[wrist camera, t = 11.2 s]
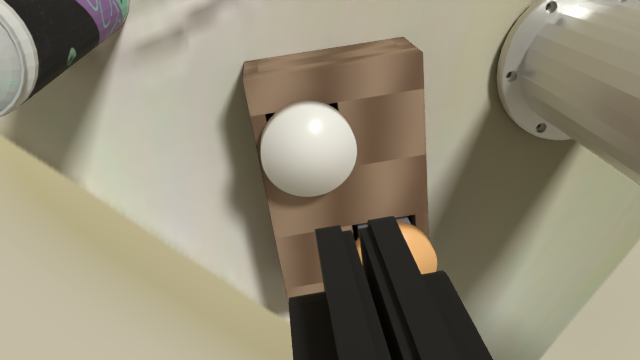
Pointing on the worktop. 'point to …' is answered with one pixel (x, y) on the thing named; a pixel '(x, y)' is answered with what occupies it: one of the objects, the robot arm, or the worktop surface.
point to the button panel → (371, 139)
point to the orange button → (410, 244)
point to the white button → (308, 148)
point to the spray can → (49, 41)
